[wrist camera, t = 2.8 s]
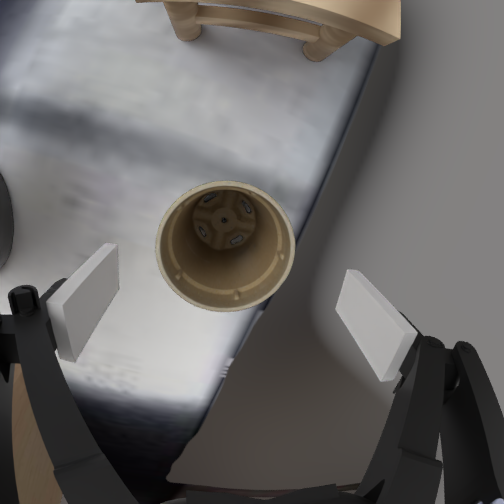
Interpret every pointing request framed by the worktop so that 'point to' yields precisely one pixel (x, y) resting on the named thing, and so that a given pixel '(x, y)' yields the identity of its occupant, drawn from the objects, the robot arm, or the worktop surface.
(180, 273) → the flower pot
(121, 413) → the worktop surface
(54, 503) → the block
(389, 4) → the footstool
